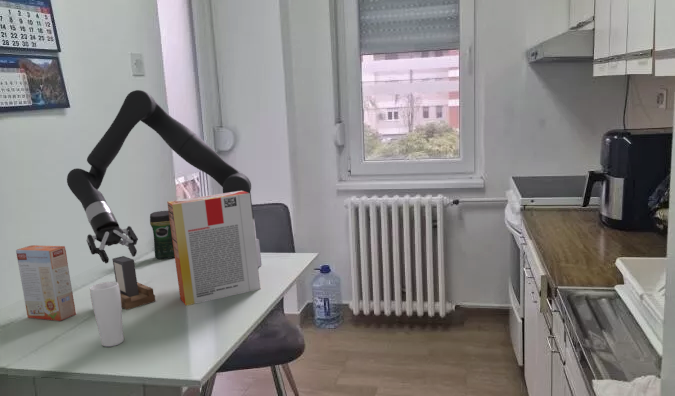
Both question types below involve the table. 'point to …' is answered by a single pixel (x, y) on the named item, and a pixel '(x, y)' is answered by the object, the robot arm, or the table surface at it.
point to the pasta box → (214, 246)
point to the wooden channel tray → (138, 297)
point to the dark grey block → (125, 275)
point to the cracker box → (46, 282)
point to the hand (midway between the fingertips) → (121, 258)
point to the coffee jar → (162, 234)
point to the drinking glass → (108, 312)
